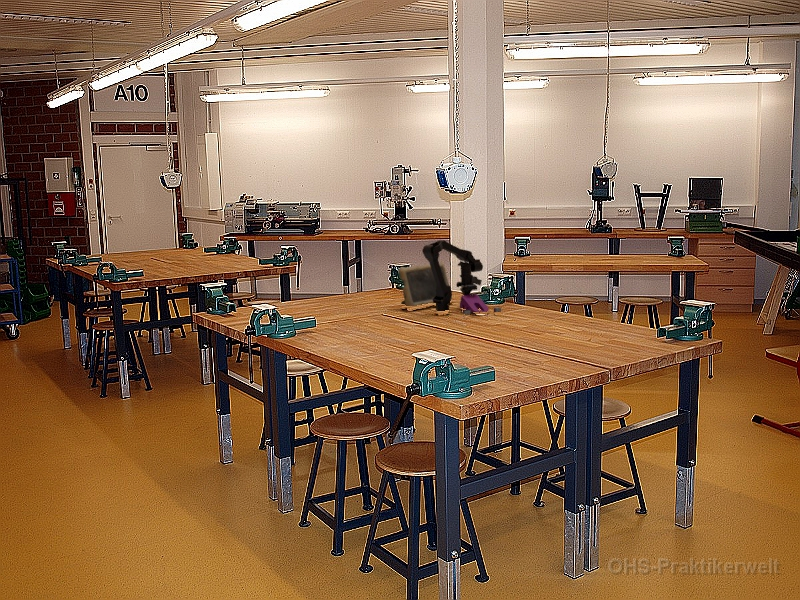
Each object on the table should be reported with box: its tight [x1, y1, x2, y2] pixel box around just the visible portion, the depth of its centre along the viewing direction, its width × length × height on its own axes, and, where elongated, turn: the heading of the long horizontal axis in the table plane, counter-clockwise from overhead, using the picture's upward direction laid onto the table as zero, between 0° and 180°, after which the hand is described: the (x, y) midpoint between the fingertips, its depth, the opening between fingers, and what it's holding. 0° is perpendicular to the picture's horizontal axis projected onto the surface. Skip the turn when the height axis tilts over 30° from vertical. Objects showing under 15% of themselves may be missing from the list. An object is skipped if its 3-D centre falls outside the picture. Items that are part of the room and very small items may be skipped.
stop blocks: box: [462, 306, 502, 315], centre depth 434 cm, size 20×3×4 cm, turn 104°
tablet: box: [397, 261, 453, 306], centre depth 472 cm, size 33×14×25 cm, turn 133°
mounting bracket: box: [459, 293, 490, 313], centre depth 445 cm, size 9×8×18 cm
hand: (467, 301), depth 457 cm, fingers closed
